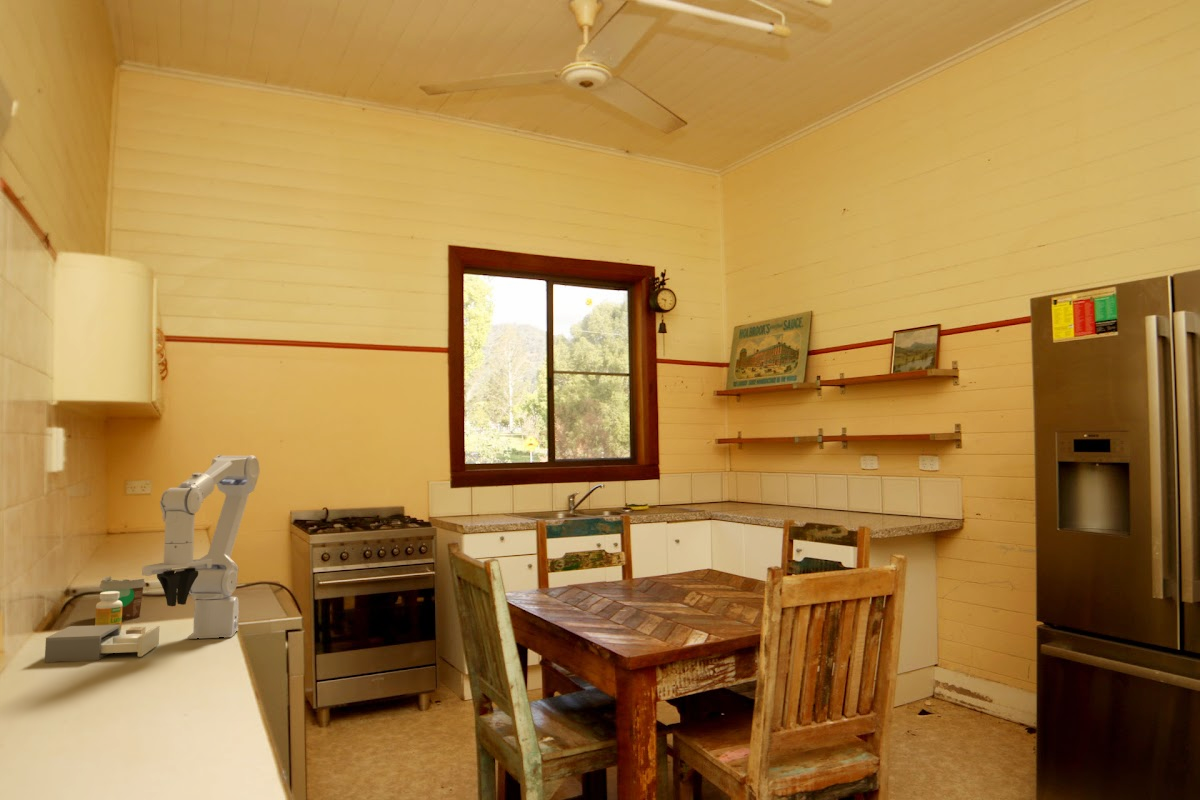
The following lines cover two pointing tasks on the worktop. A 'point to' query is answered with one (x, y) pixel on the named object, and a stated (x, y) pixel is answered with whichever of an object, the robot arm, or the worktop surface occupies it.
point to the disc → (126, 638)
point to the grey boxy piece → (78, 643)
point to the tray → (142, 647)
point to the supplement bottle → (109, 609)
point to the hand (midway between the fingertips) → (176, 604)
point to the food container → (126, 594)
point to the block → (136, 630)
